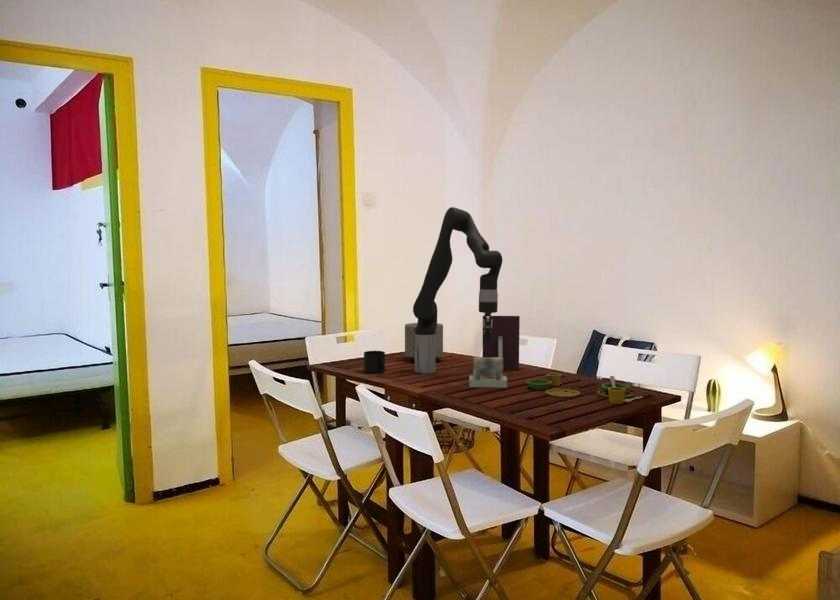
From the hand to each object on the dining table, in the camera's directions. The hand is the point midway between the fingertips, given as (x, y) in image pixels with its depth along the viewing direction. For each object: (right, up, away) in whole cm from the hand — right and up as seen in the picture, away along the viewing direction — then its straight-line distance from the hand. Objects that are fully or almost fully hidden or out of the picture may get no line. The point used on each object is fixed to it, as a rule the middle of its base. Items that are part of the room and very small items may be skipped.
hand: (487, 340), depth 257 cm
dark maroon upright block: (+9, -16, +32) cm, 37 cm away
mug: (-47, -17, +30) cm, 58 cm away
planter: (-25, -14, +61) cm, 67 cm away
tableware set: (+35, -20, -13) cm, 42 cm away
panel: (0, -15, +1) cm, 15 cm away
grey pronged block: (0, -18, +2) cm, 18 cm away
